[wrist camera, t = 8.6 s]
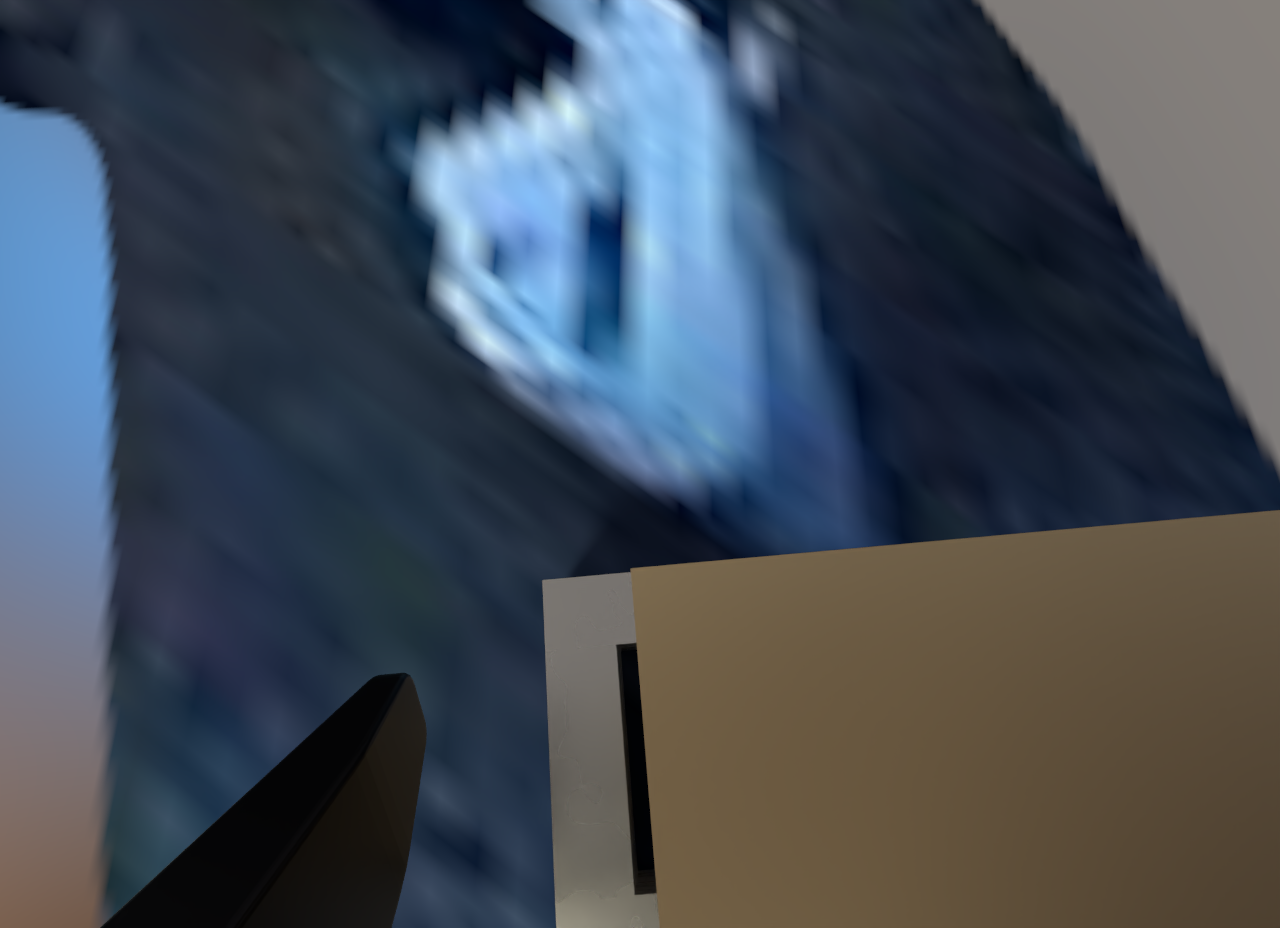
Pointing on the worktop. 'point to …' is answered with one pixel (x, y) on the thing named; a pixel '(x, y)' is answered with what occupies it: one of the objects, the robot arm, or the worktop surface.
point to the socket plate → (592, 755)
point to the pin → (970, 731)
